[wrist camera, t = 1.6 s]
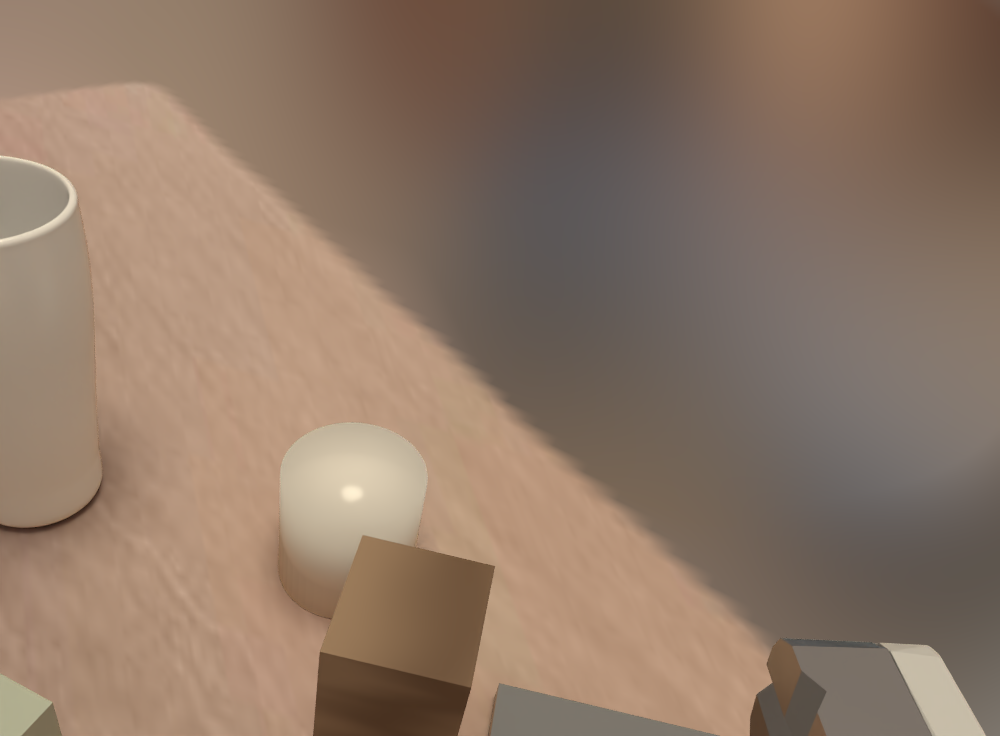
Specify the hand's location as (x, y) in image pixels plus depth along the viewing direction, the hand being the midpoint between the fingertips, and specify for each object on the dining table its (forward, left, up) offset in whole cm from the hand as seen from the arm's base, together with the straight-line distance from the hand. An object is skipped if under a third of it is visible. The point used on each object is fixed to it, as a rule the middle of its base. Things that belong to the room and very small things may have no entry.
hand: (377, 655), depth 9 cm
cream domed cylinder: (-15, +13, -24) cm, 31 cm away
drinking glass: (-27, +5, -24) cm, 36 cm away
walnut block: (-6, +7, -24) cm, 26 cm away
